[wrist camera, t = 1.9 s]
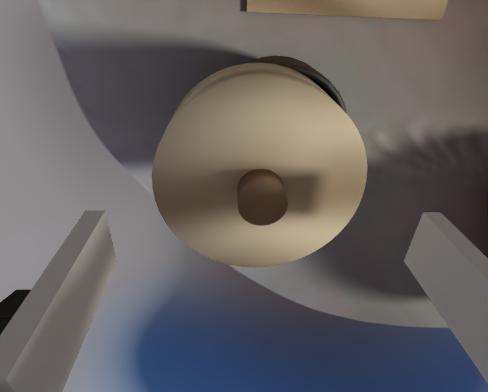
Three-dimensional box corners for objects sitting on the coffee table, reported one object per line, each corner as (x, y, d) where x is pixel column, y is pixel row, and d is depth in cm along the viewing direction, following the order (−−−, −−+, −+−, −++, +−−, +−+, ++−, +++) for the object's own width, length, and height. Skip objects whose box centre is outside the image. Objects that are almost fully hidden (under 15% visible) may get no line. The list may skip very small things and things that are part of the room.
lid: (157, 58, 17) (128, 81, 12) (362, 66, 17) (411, 92, 13) (172, 226, 22) (157, 286, 18) (325, 227, 23) (350, 286, 18)
